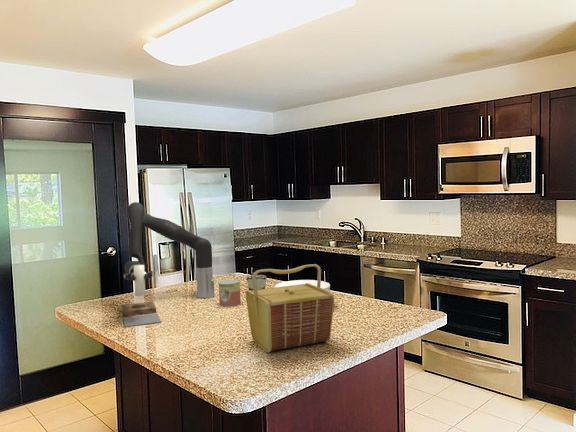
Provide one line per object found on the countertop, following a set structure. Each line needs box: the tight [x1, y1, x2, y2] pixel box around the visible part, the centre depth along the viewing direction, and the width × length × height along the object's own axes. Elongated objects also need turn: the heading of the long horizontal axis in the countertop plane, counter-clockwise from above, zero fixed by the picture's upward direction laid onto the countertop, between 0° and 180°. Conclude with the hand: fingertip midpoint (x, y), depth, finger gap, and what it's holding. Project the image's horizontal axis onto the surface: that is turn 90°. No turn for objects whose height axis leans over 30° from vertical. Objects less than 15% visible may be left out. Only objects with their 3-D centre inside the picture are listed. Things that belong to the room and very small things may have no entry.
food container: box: [245, 274, 268, 291], centre depth 279 cm, size 12×6×10 cm, turn 84°
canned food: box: [218, 279, 242, 308], centre depth 252 cm, size 11×11×12 cm
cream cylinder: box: [133, 265, 147, 297], centre depth 224 cm, size 5×5×14 cm
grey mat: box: [123, 313, 162, 328], centre depth 225 cm, size 16×16×1 cm
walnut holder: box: [120, 300, 157, 318], centre depth 244 cm, size 16×16×2 cm
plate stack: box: [274, 279, 331, 292], centre depth 241 cm, size 28×28×12 cm
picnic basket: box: [245, 263, 335, 353], centre depth 186 cm, size 29×26×30 cm
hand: (140, 278), depth 222 cm, fingers closed on cream cylinder, 4 cm apart
